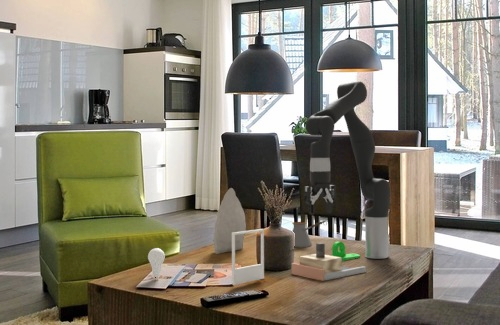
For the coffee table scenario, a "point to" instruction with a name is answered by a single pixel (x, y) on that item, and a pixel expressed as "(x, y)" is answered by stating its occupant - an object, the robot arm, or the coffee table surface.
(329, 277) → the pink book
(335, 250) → the mechanical part
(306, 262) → the light wooden block
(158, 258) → the lightbulb
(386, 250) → the robot arm
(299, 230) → the coffee pot
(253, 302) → the coffee table surface
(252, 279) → the photo frame
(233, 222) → the rock
